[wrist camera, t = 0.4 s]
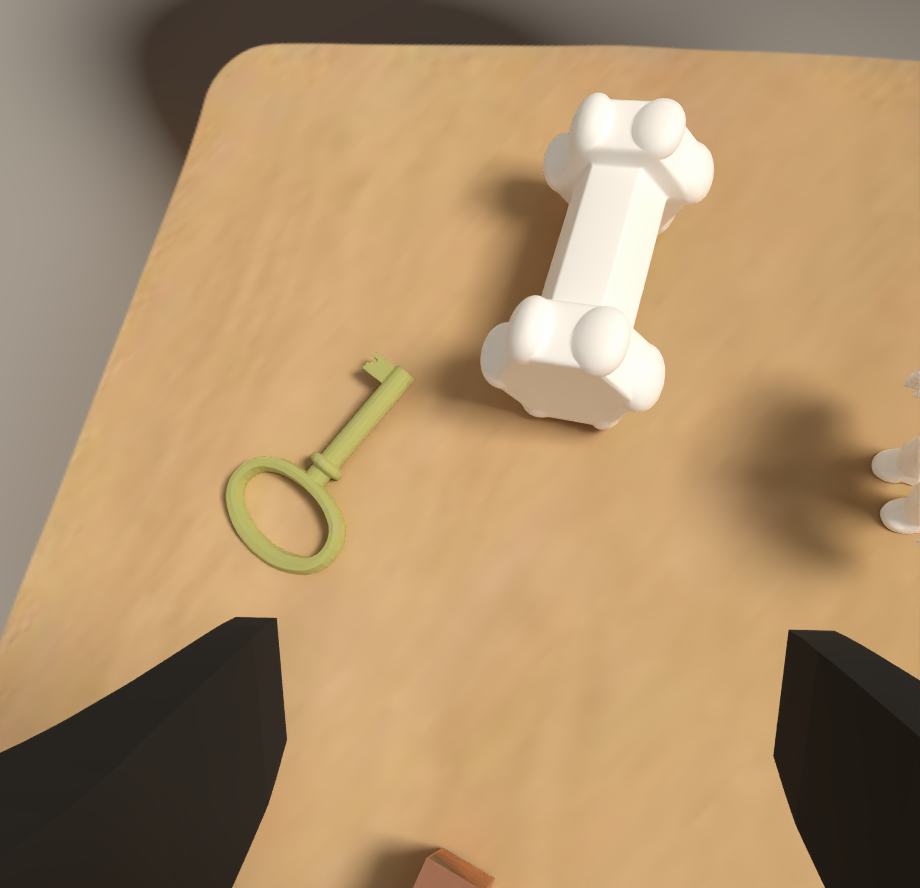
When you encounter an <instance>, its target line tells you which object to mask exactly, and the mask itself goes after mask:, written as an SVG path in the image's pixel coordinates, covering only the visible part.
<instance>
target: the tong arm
mask: <svg viewBox="0 0 920 888" xmlns="http://www.w3.org/2000/svg"><path fill="white" fill-rule="evenodd" d="M494 879H495V878H493V877H492V876H490V875H488V874H487V873H485V872H483V871H481V870H480V869H478V868H476V867H475V866H473V865H471V864H470V863H468V862H466V861H464V860H463V859H461V858H459V857H458V856H456V855H454V854H452V853H451V852H449V851H447V850H446V849H444V848H441V849H440V850H438V851H436V852H435V853H433V854H432V855H430V856H428V857H427V858H426V860H425V862H424V864H423V867H422V869H421V871H420V873H419V875H418V878H417V880H416V882H415V884H414V886H413V888H491V886H492V884H493V881H494Z"/></svg>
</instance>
